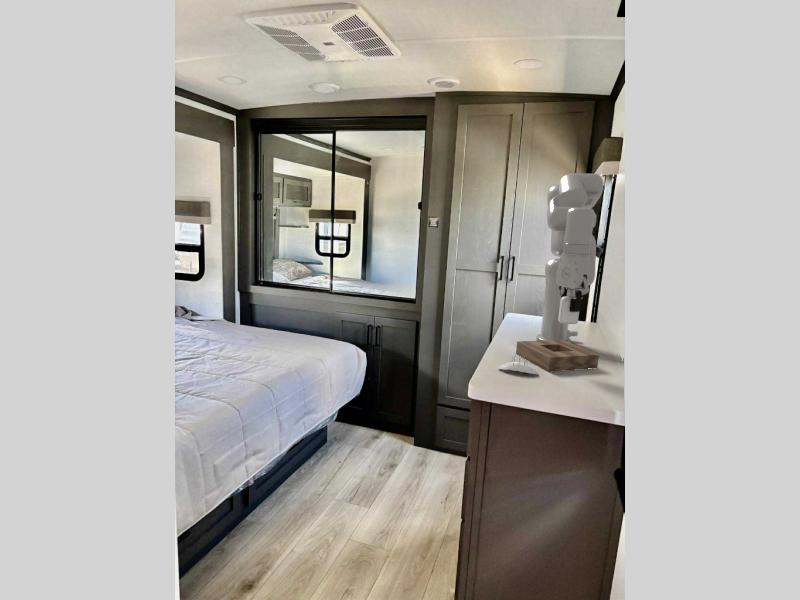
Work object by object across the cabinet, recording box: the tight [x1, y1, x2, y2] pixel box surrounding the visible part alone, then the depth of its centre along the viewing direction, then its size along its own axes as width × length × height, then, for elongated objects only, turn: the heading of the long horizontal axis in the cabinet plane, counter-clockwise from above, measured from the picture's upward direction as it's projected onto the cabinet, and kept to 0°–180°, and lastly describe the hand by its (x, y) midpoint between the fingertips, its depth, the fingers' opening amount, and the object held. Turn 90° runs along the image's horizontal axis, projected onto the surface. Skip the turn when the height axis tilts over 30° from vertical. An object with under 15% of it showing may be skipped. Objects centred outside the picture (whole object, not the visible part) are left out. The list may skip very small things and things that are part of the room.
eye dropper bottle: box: [558, 288, 580, 325], centre depth 136 cm, size 4×6×12 cm
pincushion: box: [497, 353, 540, 376], centre depth 132 cm, size 12×6×6 cm, turn 72°
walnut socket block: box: [515, 340, 600, 373], centre depth 145 cm, size 18×18×4 cm
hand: (569, 309), depth 137 cm, fingers closed on eye dropper bottle, 3 cm apart
